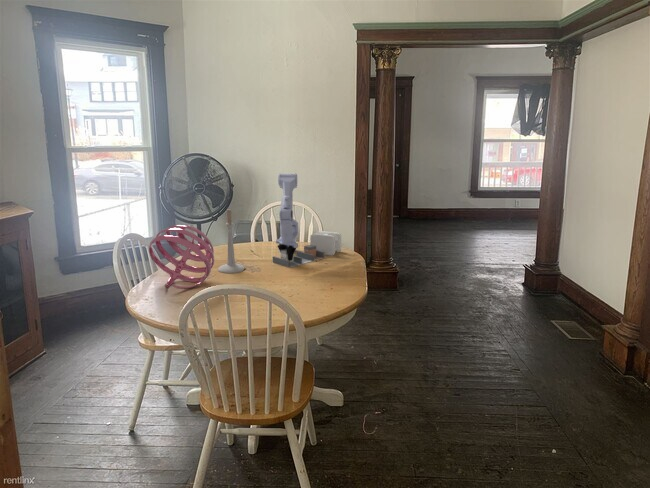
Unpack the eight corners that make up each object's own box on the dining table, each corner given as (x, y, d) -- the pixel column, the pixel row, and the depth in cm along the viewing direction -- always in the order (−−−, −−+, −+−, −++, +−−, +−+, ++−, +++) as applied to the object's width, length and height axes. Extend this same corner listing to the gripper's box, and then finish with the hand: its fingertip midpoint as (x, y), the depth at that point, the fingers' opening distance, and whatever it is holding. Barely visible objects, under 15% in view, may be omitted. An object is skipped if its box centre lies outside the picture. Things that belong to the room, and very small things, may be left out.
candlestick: (239, 274, 236) (236, 211, 229) (213, 272, 239) (210, 210, 232) (248, 266, 249) (246, 206, 242) (224, 265, 251) (221, 205, 244)
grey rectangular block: (280, 261, 251) (280, 250, 250) (288, 260, 255) (288, 248, 253) (286, 263, 249) (285, 251, 247) (293, 261, 252) (293, 249, 251)
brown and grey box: (304, 257, 262) (304, 246, 261) (310, 255, 266) (310, 244, 265) (309, 258, 260) (309, 247, 258) (316, 256, 263) (316, 245, 262)
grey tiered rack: (271, 263, 254) (271, 256, 253) (307, 255, 271) (307, 247, 270) (289, 269, 244) (289, 261, 243) (325, 259, 261) (325, 252, 261)
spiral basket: (168, 255, 193) (199, 207, 210) (121, 263, 207) (153, 217, 224) (210, 300, 209) (236, 252, 226) (164, 304, 223) (191, 258, 241)
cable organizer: (308, 254, 273) (308, 233, 270) (317, 250, 282) (317, 229, 279) (333, 257, 266) (333, 236, 263) (342, 253, 275) (342, 232, 272)
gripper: (271, 231, 250) (271, 258, 253) (290, 236, 240) (290, 263, 244) (281, 229, 255) (282, 255, 258) (301, 234, 245) (301, 260, 249)
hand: (287, 259), depth 251 cm, fingers closed on grey rectangular block, 4 cm apart
